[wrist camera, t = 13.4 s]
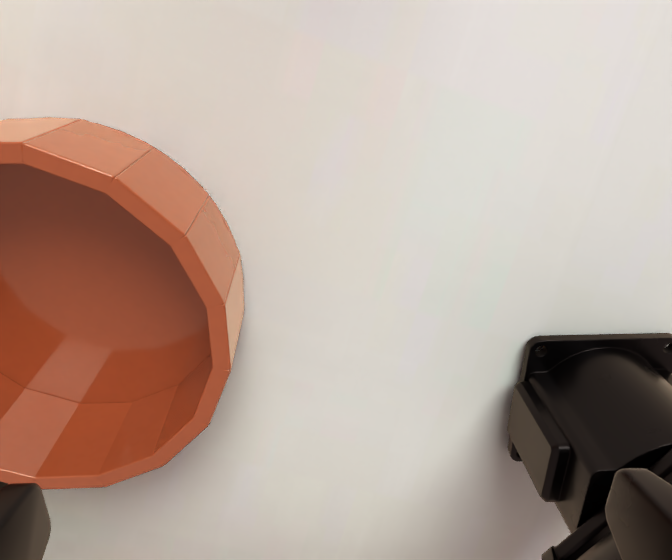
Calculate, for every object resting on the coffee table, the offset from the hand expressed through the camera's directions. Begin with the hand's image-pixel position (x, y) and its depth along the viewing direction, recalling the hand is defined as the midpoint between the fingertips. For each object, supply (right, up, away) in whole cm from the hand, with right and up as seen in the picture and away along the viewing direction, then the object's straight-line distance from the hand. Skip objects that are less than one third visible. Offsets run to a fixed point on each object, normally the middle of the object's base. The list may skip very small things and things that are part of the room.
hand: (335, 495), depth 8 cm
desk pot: (-10, +3, +12) cm, 16 cm away
